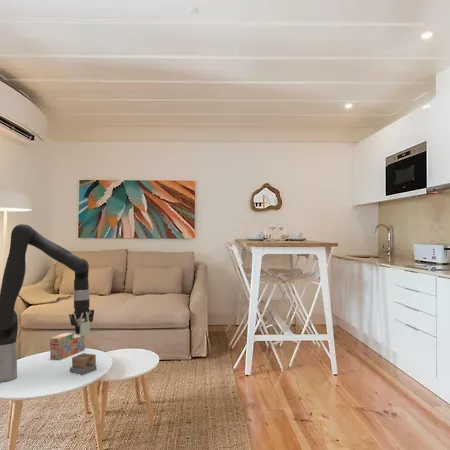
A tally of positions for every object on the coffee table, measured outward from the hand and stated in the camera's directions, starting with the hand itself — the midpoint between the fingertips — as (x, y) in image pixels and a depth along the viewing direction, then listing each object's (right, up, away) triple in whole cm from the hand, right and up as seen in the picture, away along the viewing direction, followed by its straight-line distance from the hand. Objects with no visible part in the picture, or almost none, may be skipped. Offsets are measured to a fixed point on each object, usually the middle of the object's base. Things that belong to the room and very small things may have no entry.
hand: (82, 332), depth 208 cm
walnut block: (+1, -17, 0) cm, 17 cm away
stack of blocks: (-19, -21, +30) cm, 41 cm away
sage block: (0, -1, 0) cm, 1 cm away
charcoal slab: (+1, -20, 0) cm, 20 cm away
